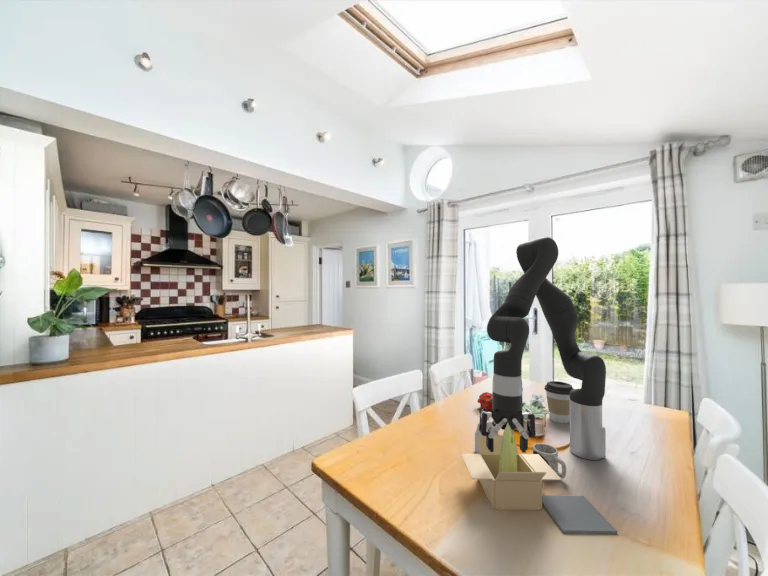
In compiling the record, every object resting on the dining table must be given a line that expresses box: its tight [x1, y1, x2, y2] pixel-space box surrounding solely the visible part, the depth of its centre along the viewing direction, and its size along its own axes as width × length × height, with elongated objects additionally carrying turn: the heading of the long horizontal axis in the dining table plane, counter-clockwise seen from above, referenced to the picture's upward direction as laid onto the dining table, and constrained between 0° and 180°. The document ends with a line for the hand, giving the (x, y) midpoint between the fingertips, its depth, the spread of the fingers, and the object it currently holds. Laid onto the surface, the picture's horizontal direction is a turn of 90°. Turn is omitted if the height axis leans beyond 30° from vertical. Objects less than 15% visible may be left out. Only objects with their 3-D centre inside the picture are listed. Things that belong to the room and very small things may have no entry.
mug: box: [532, 442, 567, 479], centre depth 93 cm, size 10×7×7 cm, turn 23°
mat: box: [542, 494, 618, 535], centre depth 76 cm, size 12×12×1 cm
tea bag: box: [474, 420, 500, 454], centre depth 105 cm, size 4×7×10 cm, turn 110°
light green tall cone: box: [499, 422, 517, 472], centre depth 84 cm, size 6×5×20 cm
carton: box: [460, 435, 563, 511], centre depth 84 cm, size 22×19×11 cm
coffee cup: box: [543, 380, 574, 424], centre depth 132 cm, size 11×11×15 cm
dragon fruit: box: [476, 391, 492, 412], centre depth 142 cm, size 8×8×12 cm
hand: (506, 450), depth 84 cm, fingers open, 8 cm apart
